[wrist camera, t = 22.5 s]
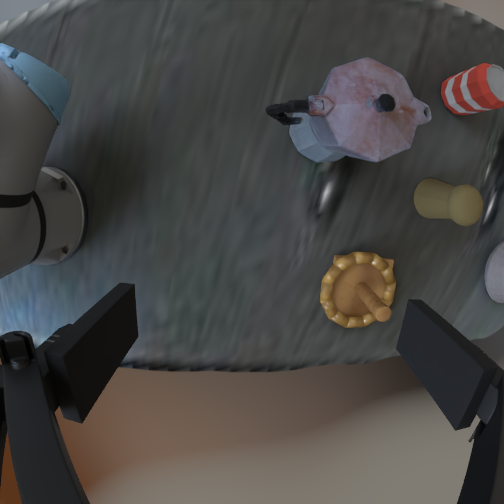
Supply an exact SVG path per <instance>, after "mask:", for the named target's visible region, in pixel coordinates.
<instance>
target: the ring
mask: <svg viewBox="0 0 504 504" xmlns="http://www.w3.org/2000/svg"><path fill="white" fill-rule="evenodd" d="M354 264H371V265H372V266H374V267H375V268H377V269H378V270H380V271H381V274H382V276H383V279H384V281H385V288H384V295H383V298H382V299H381V300H382V301H383V302H384V303H385V304H386V305H387V306H388V307H389V306H390V305H391V303H392V302H393V299H394V293H395V287H396V280H395V277H394V274H393V272H392V269H391V266H390V264H389V263H388V262H387V261H385V260H384V259H382V258H381V257H380V256H378V255H377V254H375V253H373V252H352V253H350V254H348V255H346V256H344V257H342V258H341V259H339V260H337V261H335V262H334V263H333V264H332V266H331V267H330V269H329V270H328V272H327V273H326V275H325V276H324V278H323V279H322V284H321V294H320V302H321V304H322V306H323V308H324V310H325V312H326V314H327V316H328V318H329V319H331V320H332V321H334V322H336V323H338V324H339V325H341V326H343V327H345V328H350V327H365V326H367V325H369V324H371V323H372V322H374V321H376V320H377V319H376V317H375V316H374V315H373V314H372V312H371V311H370V312H369V313H367V314H365V315H363V316H353V317H348V316H346V315H344V314H343V313H341V312H339V311H338V310H337V309H336V307H335V305H334V303H333V301H332V290H333V284H334V282H335V281H336V279H337V278H338V276H339V275H340V273H341V272H342V271H343V270H345V269H347V268H349V267H351V266H352V265H354Z"/></svg>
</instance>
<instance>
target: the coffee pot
mask: <svg viewBox="0 0 504 504" xmlns="http://www.w3.org/2000/svg"><path fill="white" fill-rule="evenodd" d="M485 286H486V290H487V292H488V294H489V296H490V297H491V299H493V300H494V301H495V302H499V303H504V241H503V242H501V243H500V244H498V245H497V246H496V247H495V249H494V250H493V251H492V253H491V254H490V256H489V258H488V260H487V263H486V267H485Z"/></svg>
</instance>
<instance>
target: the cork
mask: <svg viewBox="0 0 504 504" xmlns="http://www.w3.org/2000/svg"><path fill="white" fill-rule="evenodd" d="M414 204H415V207H416V209H417V211H418V213H419V214H420V215H422V216H423V217H425V218H431V219H452V220H453V221H454V222H455V223H457V224H459V225H462V226H471V225H473V224H474V223H476V222H477V221H478V220H479V218H480V216H481V214H482V211H483V201H482V198H481V196H480V194H479V192H478V191H477V190H476V189H475V188H474V187H472V186H470V185H459V186H456V187H455V186H452V185H449V184H447V183H444V182H441V181H438V180H435V179H425V180H422V181H421V182H420V183H419V184H418V186H417V187H416V189H415V193H414Z"/></svg>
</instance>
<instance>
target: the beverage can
mask: <svg viewBox="0 0 504 504" xmlns="http://www.w3.org/2000/svg"><path fill="white" fill-rule="evenodd" d="M441 96H442V98H443V101H444V103H445V106H446V107H447V108H448V109H449V110H451V111H452V112H453V113H454V114H457V115H468V114H473V113H478V112H482V111H487V110H493V109H498V108H502V107H503V106H504V70H503V69H502V68H501V67H500V66H497V65H494V64H492V65H490V64H486V63H483V64H480V65H478V66H475V67H473V68H470V69H468V70H466V71H463V72H461V73H458V74H456V75H454V76H451V77H449V78H448V79H446V80H445V81H444V82H443V83H442V88H441Z"/></svg>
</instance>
